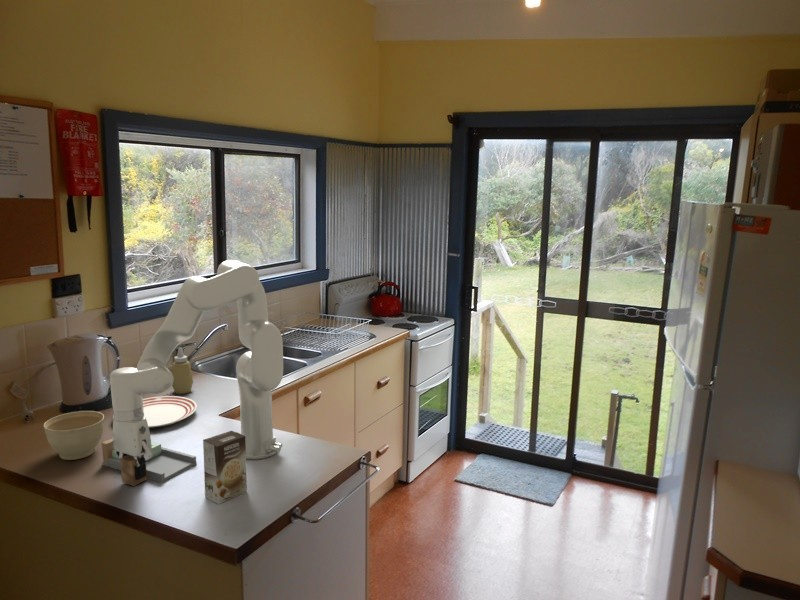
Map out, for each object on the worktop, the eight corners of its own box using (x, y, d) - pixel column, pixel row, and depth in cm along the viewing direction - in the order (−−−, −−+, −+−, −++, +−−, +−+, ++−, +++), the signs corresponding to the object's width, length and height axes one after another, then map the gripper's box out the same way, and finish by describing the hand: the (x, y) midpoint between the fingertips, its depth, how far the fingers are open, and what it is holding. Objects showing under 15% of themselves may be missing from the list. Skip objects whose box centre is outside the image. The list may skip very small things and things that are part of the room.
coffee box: (218, 505, 158) (216, 446, 155) (204, 497, 162) (201, 440, 159) (248, 491, 165) (245, 435, 162) (233, 484, 169) (231, 429, 166)
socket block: (161, 453, 185) (160, 444, 184) (134, 467, 176) (133, 457, 175) (140, 447, 189) (139, 438, 188) (112, 460, 180) (111, 450, 179)
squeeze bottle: (172, 389, 245) (169, 345, 241) (193, 387, 247) (191, 344, 244) (171, 396, 237) (168, 351, 234) (193, 394, 240) (190, 349, 236)
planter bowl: (118, 447, 192) (116, 414, 190) (75, 469, 177) (72, 434, 175) (79, 439, 197) (76, 407, 195) (34, 460, 182) (30, 426, 180)
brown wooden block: (147, 478, 170) (145, 455, 169) (133, 485, 167) (131, 462, 165) (135, 475, 172) (133, 452, 171) (122, 482, 168) (119, 458, 167)
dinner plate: (180, 434, 202) (179, 425, 202) (98, 433, 203) (97, 423, 202) (208, 405, 229) (207, 396, 229) (135, 403, 230) (134, 395, 229)
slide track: (196, 464, 181) (195, 441, 180) (161, 483, 169) (160, 459, 168) (138, 447, 191) (137, 426, 190) (102, 464, 180) (100, 442, 179)
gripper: (162, 413, 165) (167, 476, 169) (118, 403, 173) (124, 464, 176) (139, 423, 159) (145, 488, 162) (95, 412, 166) (101, 475, 170)
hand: (134, 475), depth 169 cm, fingers closed on brown wooden block, 4 cm apart
